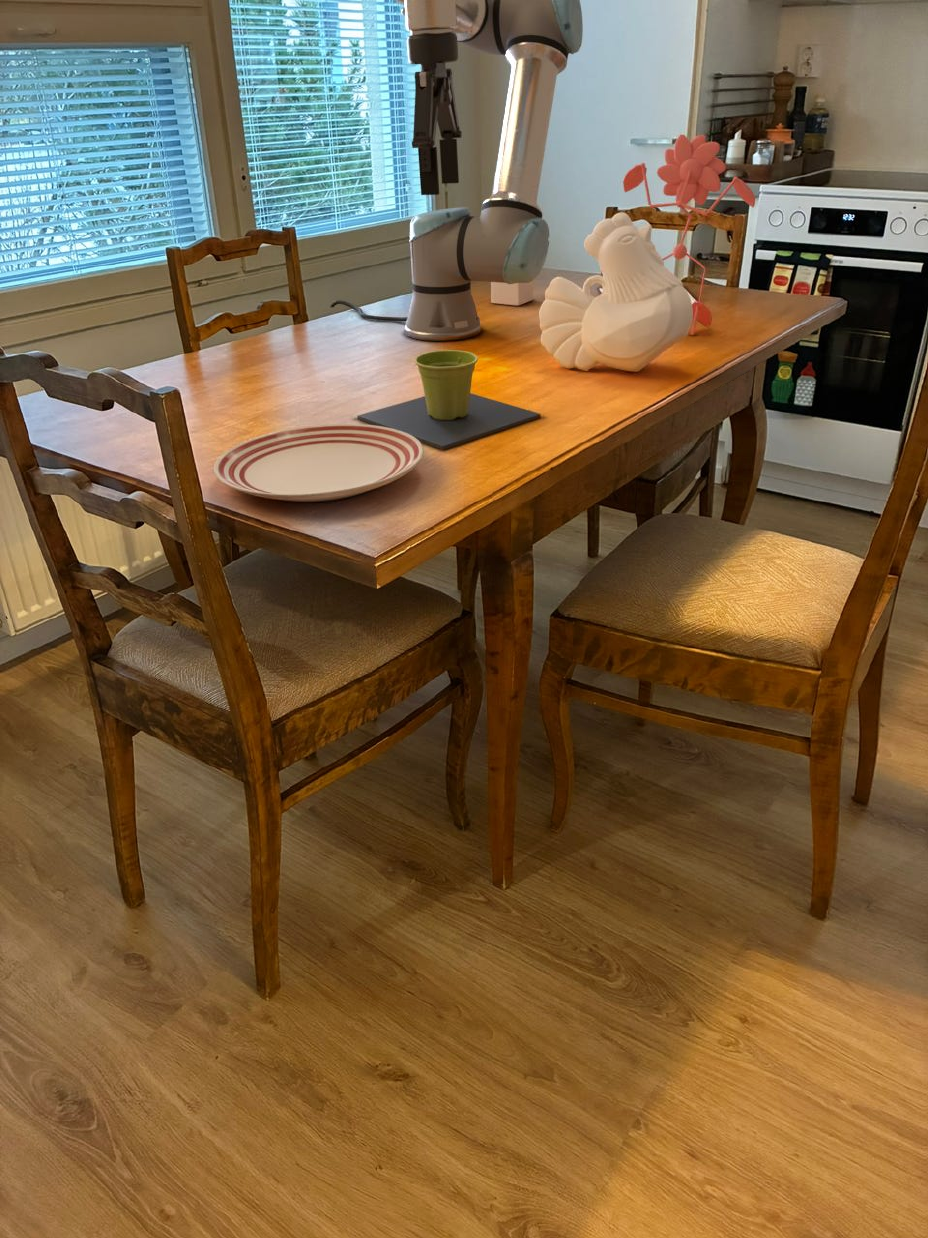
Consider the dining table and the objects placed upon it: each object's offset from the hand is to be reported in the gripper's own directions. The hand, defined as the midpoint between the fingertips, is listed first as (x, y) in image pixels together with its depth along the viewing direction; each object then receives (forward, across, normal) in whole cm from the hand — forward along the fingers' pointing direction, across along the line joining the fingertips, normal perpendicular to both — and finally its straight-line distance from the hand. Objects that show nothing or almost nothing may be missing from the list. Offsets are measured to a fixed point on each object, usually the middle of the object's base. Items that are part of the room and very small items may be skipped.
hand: (440, 188), depth 153 cm
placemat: (+30, +23, +5) cm, 38 cm away
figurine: (+32, -42, +38) cm, 65 cm away
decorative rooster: (+31, -9, +27) cm, 42 cm away
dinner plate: (+29, +50, -6) cm, 58 cm away
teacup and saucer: (+32, -70, +30) cm, 83 cm away
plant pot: (+29, +23, +5) cm, 38 cm away
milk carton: (+31, -61, 0) cm, 68 cm away
